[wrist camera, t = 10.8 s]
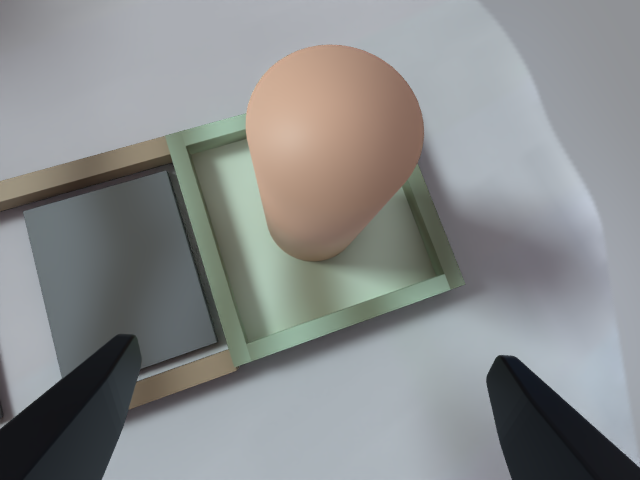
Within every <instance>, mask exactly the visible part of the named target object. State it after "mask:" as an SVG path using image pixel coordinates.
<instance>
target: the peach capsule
mask: <svg viewBox="0 0 640 480" xmlns="http://www.w3.org/2000/svg"><path fill="white" fill-rule="evenodd" d="M246 136H247V142H248V146H249V150H250V154H251V158H252V163H253V167H254V171H255V175H256V180H257V184H258V188H259V192H260V197H261V201H262V205H263V209H264V214H265V218H266V222H267V226H268V230H269V232H270V235H271V237H272V238H273V240H274V242H275V243H276V244H277V245H278V246H279V247H280V248H281V249H282V250H283V251H284V252H285V253H287V254H288V255H290V256H292V257H294V258H297V259H300V260H303V261H323V260H327V259H330V258H332V257H335V256H336V255H338V254H340V253H341V252H342V251H344V250H345V249H346V248H347V247H348V246H349V244H350V243H351V242H352V241H353V240H354V239H355V238H356V237H357V236H358V234H359V233H360V232H361V231H362V230H363V229H364V228H365V227H366V226H367V224H368V223H369V222H370V221H371V220H372V219H373V218H374V217H375V216H376V215H377V213H378V212H379V211H380V210H381V209H382V208H383V207H384V206H385V205H386V203H387V202H388V201H389V200H390V199H391V198H392V197H393V196H394V195H395V193H396V192H397V191H398V190H399V189H400V188H401V187H402V186H403V185H404V183H405V182H406V181H407V180H408V178H409V177H410V176H411V174H412V172H413V171H414V169H415V167H416V165H417V163H418V160H419V158H420V155H421V151H422V146H423V138H424V126H423V118H422V113H421V110H420V107H419V104H418V101H417V99H416V97H415V95H414V93H413V91H412V89H411V88H410V86H409V85H408V83H407V82H406V81H405V80H404V78H403V77H402V76H401V75H400V74H399V73H398V72H397V71H396V70H395V69H394V68H393V67H392V66H390V65H389V64H388V63H386V62H385V61H383V60H382V59H380V58H378V57H376V56H375V55H373V54H371V53H368V52H366V51H363V50H360V49H357V48H353V47H348V46H342V45H318V46H313V47H308V48H305V49H301V50H298V51H296V52H294V53H292V54H289V55H287V56H286V57H284V58H283V59H281V60H279V61H278V62H277V63H275V64H274V65H273V66H272V67H271V68H269V70H268V71H267V72H266V73H265V74H264V75H263V76H262V78H261V79H260V80H259V82H258V83H257V85H256V87H255V89H254V91H253V93H252V95H251V98H250V101H249V104H248V108H247V113H246Z"/></svg>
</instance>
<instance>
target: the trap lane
mask: <svg viewBox="0 0 640 480" xmlns="http://www.w3.org/2000/svg"><path fill="white" fill-rule="evenodd" d="M172 162H173V165H174V168H175V171H176V175H177V178H178V181H179V185H180V188H181V191H182V195H183V198H184V201H185V205H186V208H187V211H188V215H189V218H190V221H191V225H192V228H193V231H194V235H195V238H196V241H197V245H198V248H199V252H200V255H201V258H202V262H203V265H204V268H205V272H206V275H207V278H208V282H209V285H210V288H211V292H212V295H213V298H214V302H215V305H216V308H217V312H218V315H219V318H220V322H221V325H222V328H223V332H224V335H225V338H226V342H227V345H228V348H229V349H228V350H225V351H222V352H219V353H216V354H213V355H211V356H208V357H205V358H202V359H199V360H196V361H194V362H191V363H188V364H185V365H182V366H179V367H177V368H174V369H171V370H168V371H165V372H162V373H160V374H157V375H154V376H151V377H148V378H145V379H143V380H140V381H137V382H136V385H135V389H134V392H133V395H132V399H131V402H130V406H129V409H132V408H135V407H138V406H140V405H143V404H146V403H149V402H151V401H154V400H157V399H160V398H162V397H165V396H168V395H171V394H174V393H176V392H179V391H182V390H185V389H187V388H190V387H193V386H196V385H198V384H201V383H204V382H207V381H210V380H212V379H215V378H218V377H221V376H223V375H226V374H229V373H232V372H234V371H237V370H238V369H239V366H240V365H243V364H246V363H249V362H251V361H254V360H257V359H260V358H262V357H265V356H268V355H271V354H274V353H276V352H279V351H282V350H285V349H287V348H290V347H293V346H296V345H299V344H301V343H304V342H307V341H310V340H312V339H315V338H318V337H321V336H324V335H326V334H329V333H332V332H335V331H337V330H340V329H343V328H346V327H349V326H351V325H354V324H357V323H360V322H362V321H365V320H368V319H371V318H374V317H376V316H379V315H382V314H385V313H387V312H390V311H393V310H396V309H399V308H401V307H404V306H407V305H410V304H412V303H415V302H418V301H421V300H424V299H426V298H429V297H432V296H435V295H437V294H440V293H443V292H446V291H449V290H451V289H454V288H457V287H460V286H462V285H465V282H464V279H463V277H462V274H461V272H460V269H459V267H458V264H457V262H456V259H455V257H454V254H453V252H452V249H451V247H450V244H449V241H448V239H447V236H446V234H445V231H444V229H443V226H442V224H441V221H440V219H439V216H438V214H437V211H436V209H435V206H434V204H433V201H432V199H431V196H430V194H429V191H428V189H427V186H426V184H425V181H424V178H423V176H422V173H421V171H420V168H419V166H418V163H417V165H416V167H415V169H414V171H413V172H412V174H411V176H410V177H409V178H408V180H407V181H406V182H405V183H404V185H403V186H402V187H401V188H400V189H399V190H398V191H397V192H396V193H395V195H394V196H393V197H392V198H391V199H390V200H389V201H388V202H387V203H386V205H385V206H384V207H383V208H382V209H381V210H380V211H379V212H378V213H377V215H376V216H375V217H374V218H373V219H372V220H371V221H370V222H369V223H368V224H367V226H366V227H365V228H364V229H363V230H362V231H361V232H360V233H359V234H358V236H357V237H356V238H355V239H354V240H353V241H352V242H351V243H350V244H349V246H348V247H347V248H346V249H345V250H344V251H342V252H341V253H340V254H338V255H336V256H335V257H332V258H330V259H327V260H323V261H303V260H300V259H297V258H294V257H292V256H290V255H288V254H287V253H285V252H284V251H283V250H282V249H281V248H280V247H279V246H278V245H277V244H276V243H275V242H274V240H273V238H272V237H271V235H270V232H269V230H268V226H267V222H266V218H265V214H264V209H263V205H262V201H261V197H260V192H259V188H258V184H257V180H256V175H255V171H254V167H253V163H252V158H251V154H250V150H249V146H248V142H247V136H246V114H242V115H238V116H235V117H231V118H228V119H224V120H220V121H217V122H213V123H209V124H206V125H202V126H198V127H195V128H191V129H187V130H184V131H180V132H177V133H173V134H169V135H166V136H163V137H159V138H156V139H152V140H148V141H145V142H141V143H138V144H134V145H130V146H127V147H123V148H119V149H116V150H112V151H108V152H105V153H101V154H98V155H94V156H90V157H87V158H83V159H79V160H76V161H72V162H68V163H65V164H61V165H57V166H54V167H50V168H47V169H43V170H39V171H36V172H32V173H28V174H25V175H21V176H17V177H14V178H10V179H7V180H3V181H0V211H4V210H7V209H11V208H14V207H18V206H21V205H25V204H28V203H32V202H35V201H39V200H42V199H46V198H49V197H53V196H56V195H60V194H63V193H67V192H70V191H74V190H77V189H81V188H84V187H88V186H91V185H95V184H99V183H102V182H106V181H109V180H113V179H116V178H120V177H123V176H127V175H130V174H134V173H137V172H141V171H144V170H148V169H151V168H155V167H158V166H162V165H165V164H169V163H172ZM23 214H24V218H25V222H26V227H27V231H28V235H29V239H30V244H31V248H32V252H33V256H34V261H35V265H36V269H37V274H38V278H39V282H40V286H41V291H42V295H43V299H44V303H45V308H46V312H47V316H48V320H49V325H50V329H51V333H52V338H53V342H54V346H55V350H56V355H57V359H58V363H59V367H60V372H61V376H62V378H64V377H65V376H66V375H67V374H69V373H70V372H71V371H72V370H74V369H75V368H76V367H77V366H78V365H80V364H81V363H82V362H83V361H85V360H86V359H87V358H88V357H90V356H91V355H92V354H93V353H94V352H96V351H97V350H98V349H99V348H101V347H102V346H103V345H104V344H106V343H107V342H108V341H109V340H110V339H112V338H113V337H114V336H116V335H118V334H134V335H136V336H137V339H138V343H139V347H140V351H141V356H142V363H141V368H140V369H142V368H145V367H148V366H150V365H153V364H156V363H159V362H162V361H165V360H168V359H170V358H173V357H176V356H179V355H182V354H185V353H188V352H191V351H193V350H196V349H199V348H202V347H205V346H208V345H211V344H213V343H216V342H218V339H217V336H216V332H215V329H214V325H213V322H212V319H211V315H210V312H209V309H208V305H207V302H206V298H205V295H204V292H203V288H202V285H201V282H200V278H199V275H198V271H197V268H196V265H195V261H194V258H193V255H192V251H191V248H190V244H189V241H188V238H187V234H186V231H185V228H184V224H183V221H182V217H181V214H180V211H179V207H178V204H177V200H176V197H175V194H174V190H173V187H172V184H171V180H170V177H169V173H168V172H167V171H162V172H159V173H155V174H152V175H148V176H145V177H141V178H138V179H134V180H131V181H127V182H124V183H120V184H117V185H113V186H110V187H106V188H103V189H99V190H96V191H92V192H89V193H85V194H82V195H78V196H75V197H71V198H68V199H64V200H61V201H57V202H54V203H50V204H47V205H44V206H40V207H37V208H33V209H30V210H26V211H23ZM129 409H128V410H129ZM1 417H3V415H2V410H1V405H0V418H1Z"/></svg>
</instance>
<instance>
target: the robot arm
mask: <svg viewBox="0 0 640 480" xmlns="http://www.w3.org/2000/svg"><path fill="white" fill-rule="evenodd" d="M141 363H142V356H141V351H140V347H139V343H138V339H137V336H136V335H134V334H118V335H116V336H114V337H113V338H112V339H110V340H109V341H108V342H107V343H106V344H104V345H103V346H102V347H101V348H99V349H98V350H97V351H96V352H94V353H93V354H92V355H91V356H90V357H88V358H87V359H86V360H85V361H83V362H82V363H81V364H80V365H78V366H77V367H76V368H75V369H74V370H72V371H71V372H70V373H69V374H67V375H66V376H65V377H64V378H62V379H61V380H60V381H59V382H58V383H56V384H55V385H54V386H53V387H51V388H50V389H49V390H48V391H46V392H45V393H44V394H43V395H42V396H40V397H39V398H38V399H37V400H35V401H34V402H33V403H32V404H30V405H29V406H28V407H27V408H26V409H24V410H23V411H22V412H21V413H19V414H18V415H17V416H16V417H14V418H13V419H12V420H11V421H10V422H8V423H7V424H6V425H5V426H3V427H2V428H1V429H0V480H102V478H103V475H104V473H105V470H106V468H107V466H108V463H109V461H110V458H111V456H112V453H113V451H114V449H115V446H116V444H117V441H118V439H119V436H120V434H121V431H122V429H123V426H124V422H125V419H126V416H127V413H128V409H129V406H130V402H131V399H132V395H133V392H134V389H135V385H136V382H137V378H138V375H139V371H140V368H141ZM486 383H487V388H488V393H489V397H490V402H491V406H492V411H493V415H494V420H495V424H496V429H497V433H498V437H499V441H500V445H501V448H502V451H503V454H504V457H505V460H506V463H507V466H508V469H509V472H510V475H511V478H512V480H640V468H639V467H638V466H637V465H636V464H635V463H634V462H633V461H632V460H631V459H629V458H628V457H627V456H626V455H625V454H624V453H623V452H622V451H621V450H619V449H618V448H617V447H616V446H615V445H614V444H613V443H612V442H610V441H609V440H608V439H607V438H606V437H605V436H604V435H603V434H602V433H600V432H599V431H598V430H597V429H596V428H595V427H594V426H593V425H592V424H590V423H589V422H588V421H587V420H586V419H585V418H584V417H583V416H581V415H580V414H579V413H578V412H577V411H576V410H575V409H574V408H573V407H571V406H570V405H569V404H568V403H567V402H566V401H565V400H564V399H562V398H561V397H560V396H559V395H558V394H557V393H556V392H555V391H554V390H552V389H551V388H550V387H549V386H548V385H547V384H546V383H545V382H544V381H542V380H541V379H540V378H539V377H538V376H537V375H536V374H535V373H533V372H532V371H531V370H530V369H529V368H528V367H527V366H526V365H525V364H523V363H522V362H521V361H520V360H519V359H518V358H516V357H514V356H508V355H499V356H497V357H496V359H495V361H494V363H493V365H492V366H491V368H490V370H489V372H488V374H487V378H486Z"/></svg>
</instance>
